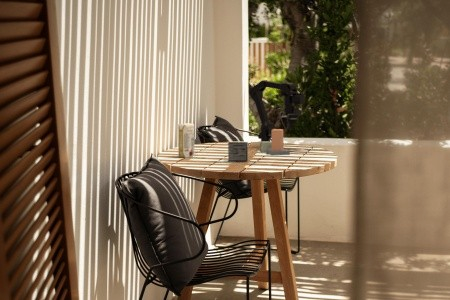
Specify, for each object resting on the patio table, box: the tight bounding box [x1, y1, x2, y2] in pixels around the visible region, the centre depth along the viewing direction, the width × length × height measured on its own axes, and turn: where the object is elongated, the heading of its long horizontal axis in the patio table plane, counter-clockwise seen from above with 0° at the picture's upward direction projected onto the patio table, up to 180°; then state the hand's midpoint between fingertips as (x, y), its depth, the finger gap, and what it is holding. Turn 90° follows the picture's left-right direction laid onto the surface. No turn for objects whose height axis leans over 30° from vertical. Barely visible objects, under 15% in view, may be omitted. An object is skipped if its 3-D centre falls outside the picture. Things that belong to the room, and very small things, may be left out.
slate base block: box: [265, 148, 291, 156], centre depth 463 cm, size 11×11×3 cm
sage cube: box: [258, 140, 272, 153], centre depth 473 cm, size 6×6×6 cm
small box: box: [227, 141, 249, 163], centre depth 434 cm, size 11×6×10 cm, turn 84°
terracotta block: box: [271, 128, 284, 151], centre depth 463 cm, size 6×6×12 cm
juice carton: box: [177, 122, 195, 159], centre depth 450 cm, size 8×9×19 cm
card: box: [291, 148, 308, 153], centre depth 477 cm, size 8×8×1 cm
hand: (288, 129), depth 476 cm, fingers open, 9 cm apart
